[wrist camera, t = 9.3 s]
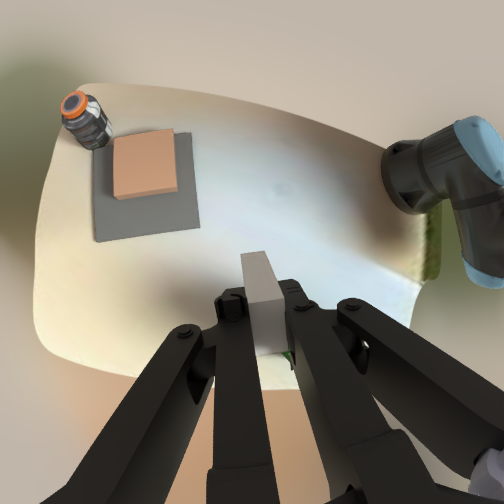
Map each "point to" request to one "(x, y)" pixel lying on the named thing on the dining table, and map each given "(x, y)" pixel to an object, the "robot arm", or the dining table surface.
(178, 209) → the mat
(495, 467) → the robot arm
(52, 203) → the dining table surface
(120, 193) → the tile
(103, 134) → the pill bottle
